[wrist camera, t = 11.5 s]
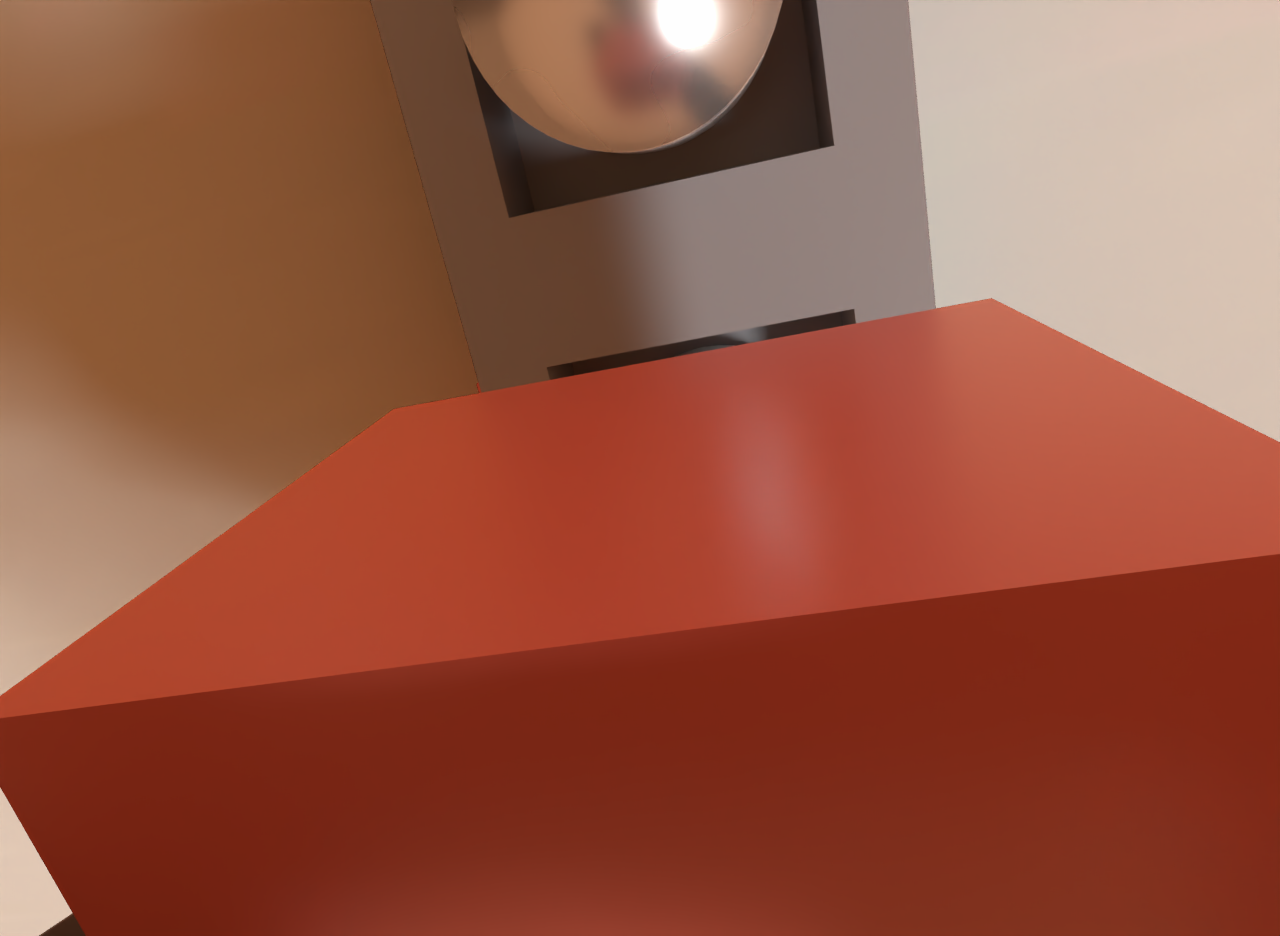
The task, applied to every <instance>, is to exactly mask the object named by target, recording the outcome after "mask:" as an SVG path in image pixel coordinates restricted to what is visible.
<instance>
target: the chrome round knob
mask: <svg viewBox="0 0 1280 936" xmlns="http://www.w3.org/2000/svg"><path fill="white" fill-rule="evenodd" d="M452 1H453V6H454V12H455V15H456V18H457V21H458V25H459V28H460V31H461V34H462V37H463V39H464V41H465V43H466V46H467V48H468V50H469V52H470V55H471V57H472V59H473V60H474V62H475V64H476V66H477V67H478V69H479V71H480V72H481V74H482V76H483V77H484V79H485V80H486V81H487V83H488V84H489V85H490V87H491V88H492V89H493V90H494V92H495V93H496V94H497V96H498V97H499V98H500V99H501V100H502V101H503V102H504V103H505V104H506V105H507V106H508V107H509V108H510V109H511V110H512V111H513V112H514V113H516V114H517V115H518V116H519V117H521V118H522V119H523V120H524V121H526V122H527V123H528V124H529V125H531V126H533V127H534V128H536V129H538V130H539V131H541V132H543V133H544V134H546V135H548V136H550V137H552V138H554V139H557V140H559V141H561V142H564V143H566V144H569V145H573V146H576V147H580V148H584V149H587V150H595V151H603V152H611V153H622V154H645V153H651V152H657V151H662V150H666V149H669V148H672V147H676V146H679V145H681V144H683V143H685V142H687V141H689V140H692V139H694V138H696V137H697V136H699V135H700V134H702V133H703V132H705V131H707V130H708V129H710V128H711V127H712V126H713V125H715V124H716V123H717V122H718V121H719V120H721V119H722V118H723V117H724V116H725V115H726V114H727V113H728V112H729V111H730V110H731V109H732V108H733V107H734V106H735V104H736V103H737V102H738V101H739V100H740V98H741V97H742V95H743V94H744V93H745V91H746V90H747V89H748V87H749V86H750V84H751V82H752V80H753V79H754V77H755V75H756V73H757V71H758V70H759V68H760V65H761V63H762V60H763V58H764V55H765V53H766V51H767V48H768V45H769V43H770V40H771V37H772V35H773V32H774V29H775V26H776V23H777V19H778V16H779V12H780V9H781V5H782V1H783V0H452Z"/></svg>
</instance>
